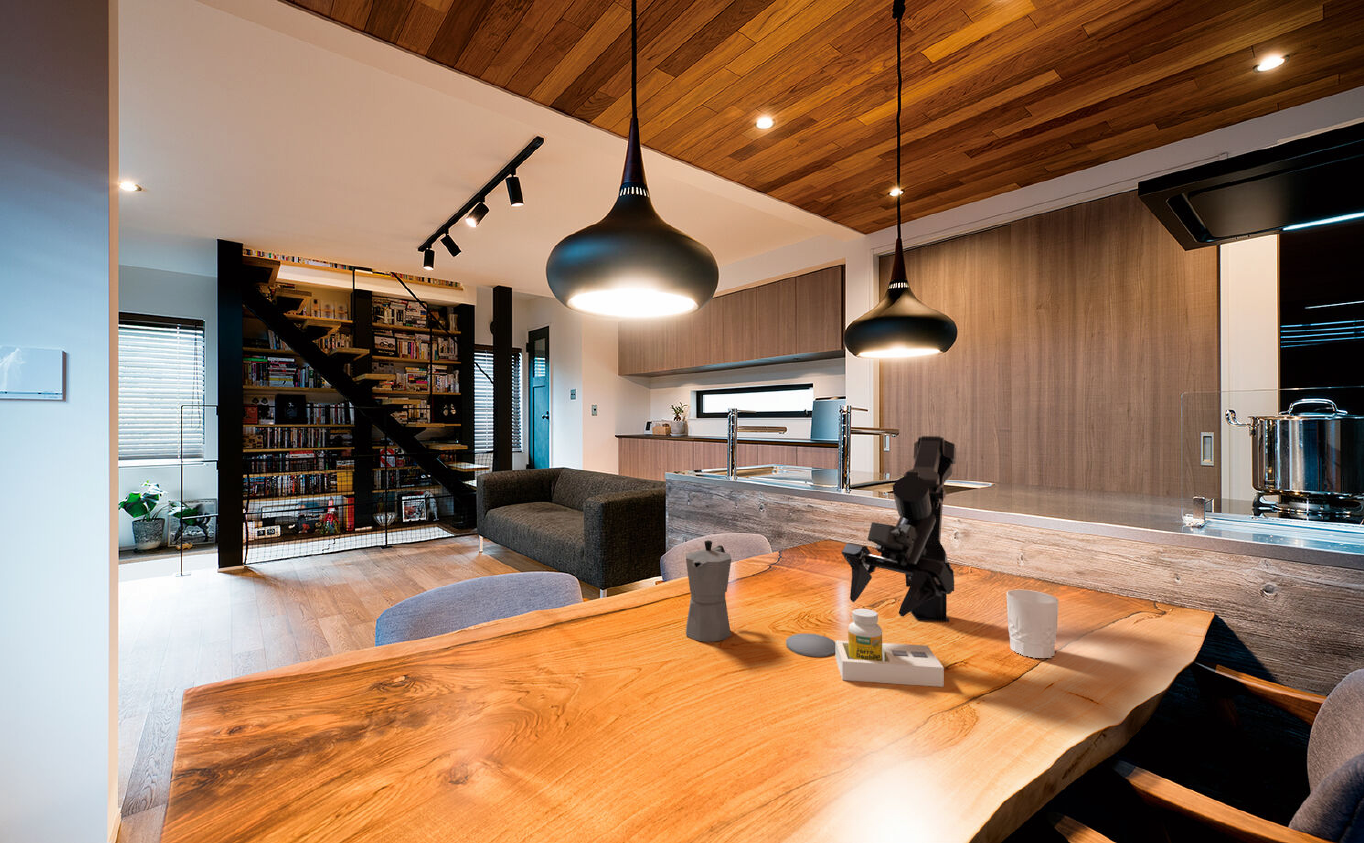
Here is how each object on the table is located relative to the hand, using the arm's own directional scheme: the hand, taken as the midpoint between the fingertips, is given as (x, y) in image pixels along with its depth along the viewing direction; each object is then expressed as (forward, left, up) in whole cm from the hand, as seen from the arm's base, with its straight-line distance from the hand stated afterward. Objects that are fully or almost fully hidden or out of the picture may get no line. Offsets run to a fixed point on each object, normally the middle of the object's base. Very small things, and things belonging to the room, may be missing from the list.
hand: (875, 607), depth 93 cm
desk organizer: (-1, +2, -10) cm, 10 cm away
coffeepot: (+29, -11, -10) cm, 33 cm away
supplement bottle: (+2, +2, -10) cm, 10 cm away
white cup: (-29, -10, -10) cm, 32 cm away
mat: (+10, -7, -10) cm, 15 cm away
